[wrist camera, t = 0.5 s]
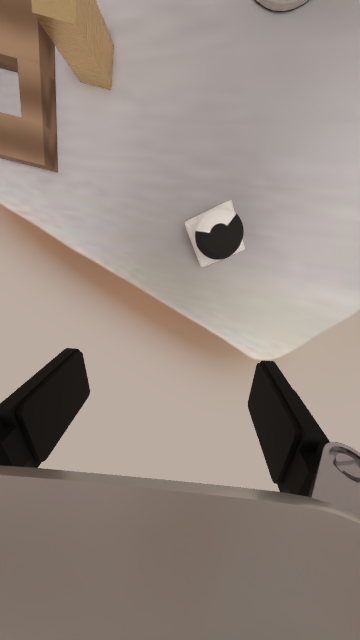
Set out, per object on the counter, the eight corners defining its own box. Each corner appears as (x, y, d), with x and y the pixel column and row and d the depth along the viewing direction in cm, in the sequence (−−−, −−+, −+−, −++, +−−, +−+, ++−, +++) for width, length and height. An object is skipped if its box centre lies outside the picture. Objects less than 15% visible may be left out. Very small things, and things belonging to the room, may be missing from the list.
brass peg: (81, 36, 26) (27, -62, 17) (113, 45, 26) (76, -49, 17) (80, 82, 27) (31, 12, 19) (111, 90, 27) (75, 24, 19)
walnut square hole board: (-42, -42, 24) (-73, -80, 21) (52, -16, 24) (34, -49, 21) (-14, 154, 31) (-34, 145, 29) (57, 172, 32) (44, 165, 29)
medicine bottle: (235, 248, 35) (256, 250, 23) (199, 263, 36) (202, 273, 25) (223, 207, 32) (239, 188, 21) (185, 225, 34) (181, 217, 23)
